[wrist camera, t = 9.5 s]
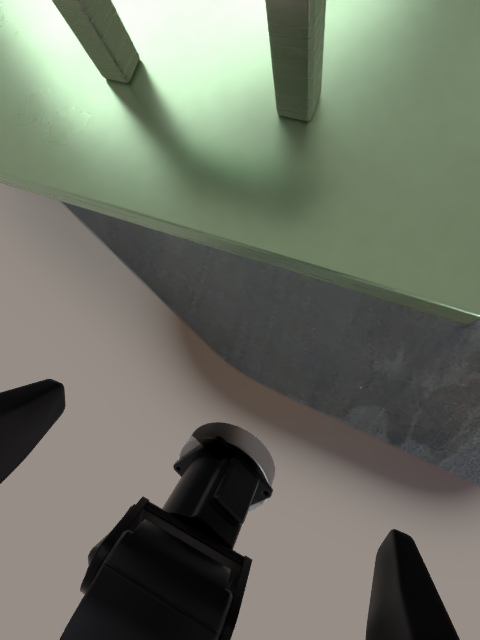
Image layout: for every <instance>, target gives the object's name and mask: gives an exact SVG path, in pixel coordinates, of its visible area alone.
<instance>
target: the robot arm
mask: <svg viewBox="0 0 480 640" xmlns="http://www.w3.org/2000/svg"><path fill="white" fill-rule="evenodd" d="M64 409H65V392H64V386H63V384H62V383H59V382H57V381H55V380H52V379H46V380H43V381H39V382H36V383H32V384H29V385H25V386H22V387H19V388H15V389H12V390H8V391H5V392H1V393H0V484H1V483H2V481H4V480H5V478H7V477H8V476H9V475H10V474H11V473H12V472H13V471H14V470H15V468H17V466H19V464H20V463H21V462H22V461H23V460H24V459H25V458H26V457H27V456H28V455H29V453H30V452H31V451H32V450H33V449H34V447H35V446H36V445H37V444H38V443H39V441H40V440H41V439H42V438H43V436H44V435H45V434H46V433H47V432H48V430H49V429H50V428H51V427H52V425H53V424H54V423H55V422H56V421H57V419H58V418H59V417H60V416H61V414H62V413H63V411H64ZM218 442H219V443H218ZM174 469H175V471H176V472H177V473H178V474H179V475H180V476H181V479H180V481H179V483H178V484H177V486H176V487H175V489H174V490H173V492H172V494H171V495H170V497H169V499H168V500H167V502H166V503H165V505H164V507H163V508H162V509H161V508H159V507H158V506H156V505H154V504H152V503H151V502H149V500H148V499H147V498H145V497H142V498H141V499H140V500H139V502H138V503H137V504H136V505H135V504H134V505H133V506H131V507H130V508H129V510H128V511H127V513H126V514H125V515H124V517H123V518H122V519H121V520H120V521H119V523H118V524H117V525H116V526H115V528H114V529H113V530H112V531H111V532H110V533H109V534H108V535H107V536H105V538H103V539H102V540H101V541H100V542H99V543H98V544H97V545H96V546H95V547H93V549H92V550H91V551H90V553H89V555H88V563H89V567H88V569H87V572H86V575H85V577H84V579H83V582H82V584H81V588H80V591H81V592H82V593H84V594H85V595H84V597H83V599H82V600H81V602H80V604H79V606H78V607H77V609H76V611H75V613H74V614H73V616H72V618H71V619H70V621H69V623H68V625H67V627H66V628H65V630H64V632H63V634H62V636H61V638H60V640H230V639H231V636H232V633H233V630H234V628H235V624H236V621H237V618H238V614H239V610H240V606H241V603H242V599H243V595H244V591H245V587H246V583H247V579H248V575H249V571H250V567H251V563H252V559H250V558H249V557H247V556H242V555H241V554H239V553H237V552H235V551H234V550H233V547H234V545H235V542H236V540H237V536H238V534H239V532H240V529H241V526H242V524H243V523H244V521H245V518H246V515H247V513H248V510H249V507H250V506H252V505H254V504H256V503H258V502H261V501H263V500H265V499H267V498H270V497H271V495H272V492H273V489H272V487H271V486H270V485H269V484H268V483H267V482H266V481H265V480H264V479H263V478H262V477H261V476H260V475H259V474H258V473H257V472H256V471H255V470H254V469H253V468H252V467H251V466H250V465H249V464H248V463H247V462H246V461H245V460H244V459H243V458H242V457H241V456H240V455H239V454H238V453H237V452H236V451H235V450H234V449H233V448H232V447H231V446H230V445H229V444H228V443H227V442H226V440H225V439H224V438H222V437H220V436H216V437H214V438H212V439H211V440H209V441H208V442H206V443H204V444H203V445H201V446H200V447H198V448H197V449H195V450H193V451H192V452H190V453H189V454H187V455H186V456H184V457H183V458H181V459H179V460H178V461H177V462H176V463H175V464H174ZM366 640H460V639H459V637H458V635H457V633H456V630H455V628H454V626H453V624H452V622H451V620H450V617H449V615H448V613H447V611H446V609H445V607H444V605H443V602H442V600H441V598H440V596H439V594H438V592H437V590H436V588H435V585H434V583H433V581H432V579H431V577H430V574H429V572H428V570H427V568H426V566H425V564H424V562H423V559H422V557H421V555H420V553H419V551H418V549H417V547H416V544H415V542H414V540H413V539H412V538H411V536H409V535H407V534H405V533H403V532H400V531H398V530H395V529H393V530H391V531H390V532H389V534H388V535H387V537H386V538H385V540H384V541H383V543H382V544H381V546H380V547H379V549H378V552H377V555H376V561H375V569H374V576H373V583H372V590H371V598H370V605H369V613H368V620H367V629H366Z"/></svg>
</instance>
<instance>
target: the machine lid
mask: <svg viewBox="0 0 480 640" xmlns="http://www.w3.org/2000/svg"><path fill="white" fill-rule="evenodd" d="M0 183H4V184H7V185H10V186H13V187H17V188H20V189H24V190H27V191H30V192H33V193H37V194H40V195H43V196H46V197H49V198H53V199H56V200H59V201H62V202H66V203H69V204H72V205H75V206H79V207H82V208H85V209H89V210H92V211H95V212H98V213H102V214H105V215H108V216H111V217H115V218H118V219H121V220H125V221H128V222H131V223H134V224H138V225H141V226H144V227H147V228H151V229H154V230H157V231H161V232H164V233H167V234H170V235H174V236H177V237H180V238H183V239H187V240H190V241H193V242H197V243H200V244H203V245H206V246H210V247H213V248H216V249H219V250H223V251H226V252H229V253H233V254H236V255H239V256H242V257H246V258H249V259H252V260H255V261H259V262H262V263H265V264H268V265H272V266H275V267H278V268H282V269H285V270H288V271H291V272H295V273H298V274H301V275H304V276H308V277H311V278H314V279H318V280H321V281H324V282H327V283H331V284H334V285H337V286H340V287H344V288H347V289H350V290H354V291H357V292H360V293H363V294H367V295H370V296H373V297H376V298H380V299H383V300H386V301H390V302H393V303H396V304H399V305H403V306H406V307H409V308H412V309H416V310H419V311H422V312H426V313H429V314H432V315H435V316H439V317H442V318H445V319H448V320H452V321H455V322H458V323H462V324H467V323H470V322H473V321H476V320H479V319H480V0H0Z"/></svg>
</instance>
